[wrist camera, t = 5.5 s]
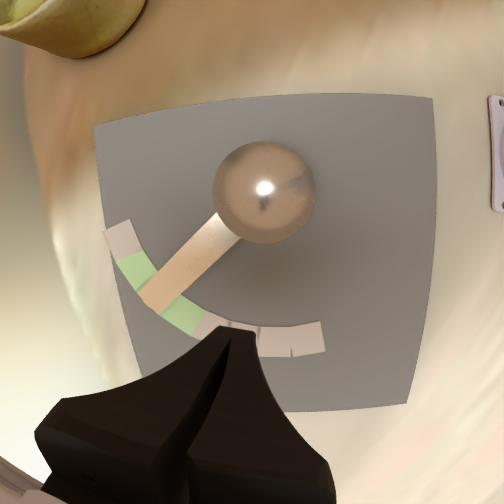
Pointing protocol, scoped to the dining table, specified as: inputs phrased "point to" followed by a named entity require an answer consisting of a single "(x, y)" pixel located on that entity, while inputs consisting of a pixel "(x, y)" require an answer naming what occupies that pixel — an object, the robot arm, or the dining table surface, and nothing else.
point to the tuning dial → (240, 214)
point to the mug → (68, 23)
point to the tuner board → (288, 250)
